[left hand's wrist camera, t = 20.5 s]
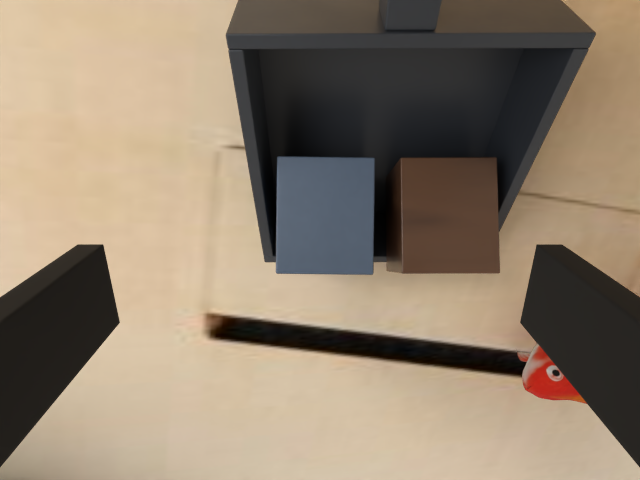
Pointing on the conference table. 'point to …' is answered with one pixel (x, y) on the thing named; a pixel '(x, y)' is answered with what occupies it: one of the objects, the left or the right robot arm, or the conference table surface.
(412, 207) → the walnut block
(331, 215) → the slate block
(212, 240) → the conference table surface
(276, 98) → the tray
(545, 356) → the fish
